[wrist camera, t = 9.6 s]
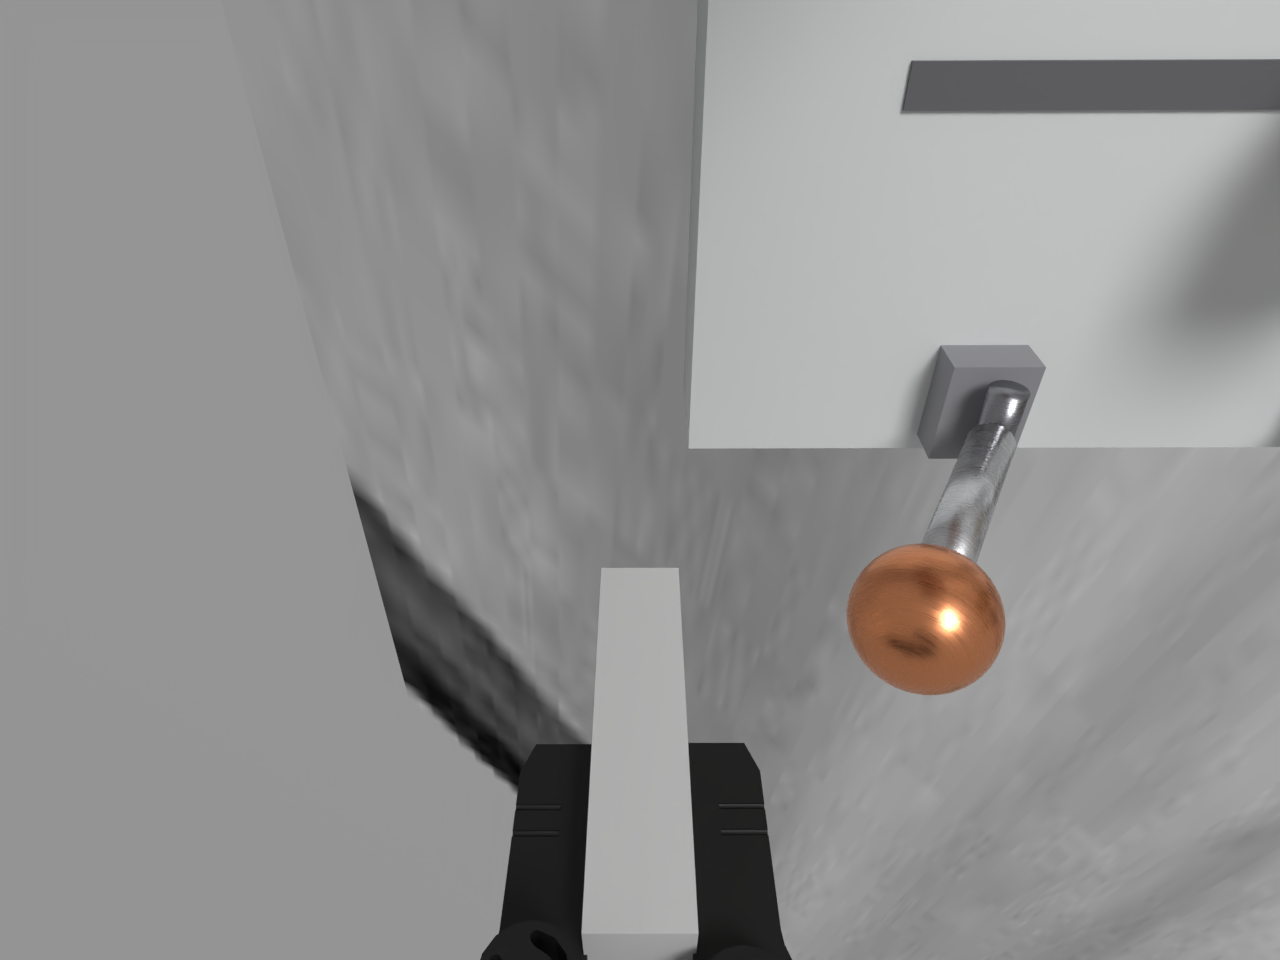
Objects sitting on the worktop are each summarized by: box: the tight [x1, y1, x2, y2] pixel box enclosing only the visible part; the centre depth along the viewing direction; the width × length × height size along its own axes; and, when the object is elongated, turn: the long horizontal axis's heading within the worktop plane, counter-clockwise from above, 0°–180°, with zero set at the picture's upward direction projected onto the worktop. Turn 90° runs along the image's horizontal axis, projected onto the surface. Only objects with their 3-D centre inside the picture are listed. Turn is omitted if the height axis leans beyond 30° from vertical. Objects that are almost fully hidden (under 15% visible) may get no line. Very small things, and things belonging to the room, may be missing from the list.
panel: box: [683, 0, 1280, 459], centre depth 21 cm, size 12×25×5 cm, turn 90°
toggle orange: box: [846, 380, 1030, 695], centre depth 18 cm, size 3×3×10 cm
